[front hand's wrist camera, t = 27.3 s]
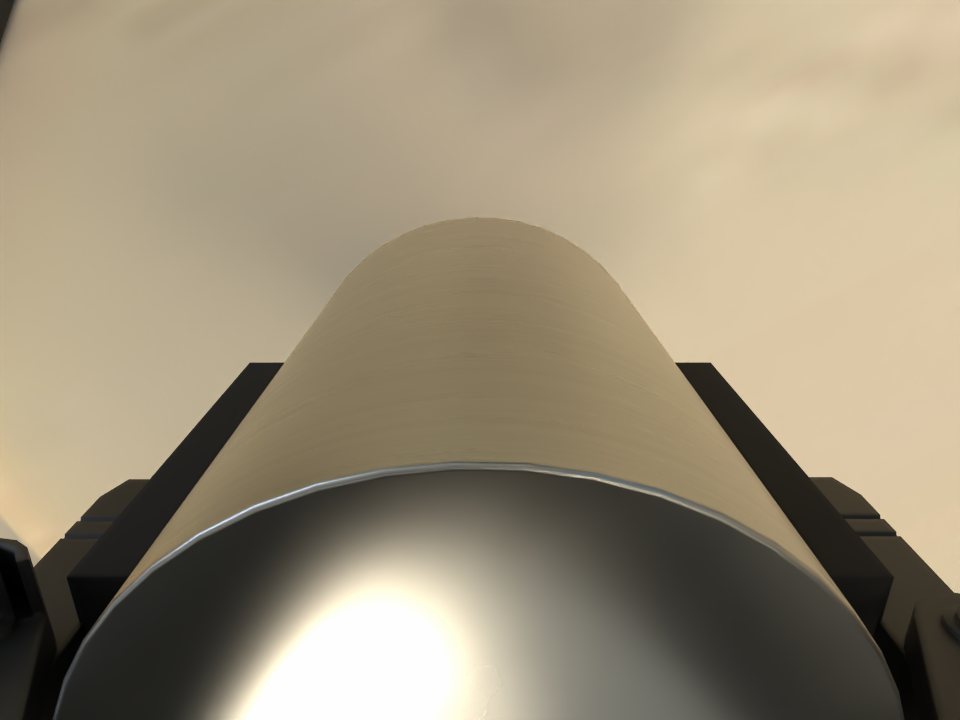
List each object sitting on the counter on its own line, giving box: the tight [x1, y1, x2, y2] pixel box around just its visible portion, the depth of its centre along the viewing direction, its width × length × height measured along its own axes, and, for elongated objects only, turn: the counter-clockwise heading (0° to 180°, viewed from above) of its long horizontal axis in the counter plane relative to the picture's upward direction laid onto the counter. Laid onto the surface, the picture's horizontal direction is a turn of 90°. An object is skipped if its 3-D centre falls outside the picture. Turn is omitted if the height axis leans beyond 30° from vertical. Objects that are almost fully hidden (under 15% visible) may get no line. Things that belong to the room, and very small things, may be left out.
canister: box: [53, 218, 905, 720], centre depth 11 cm, size 8×8×10 cm
